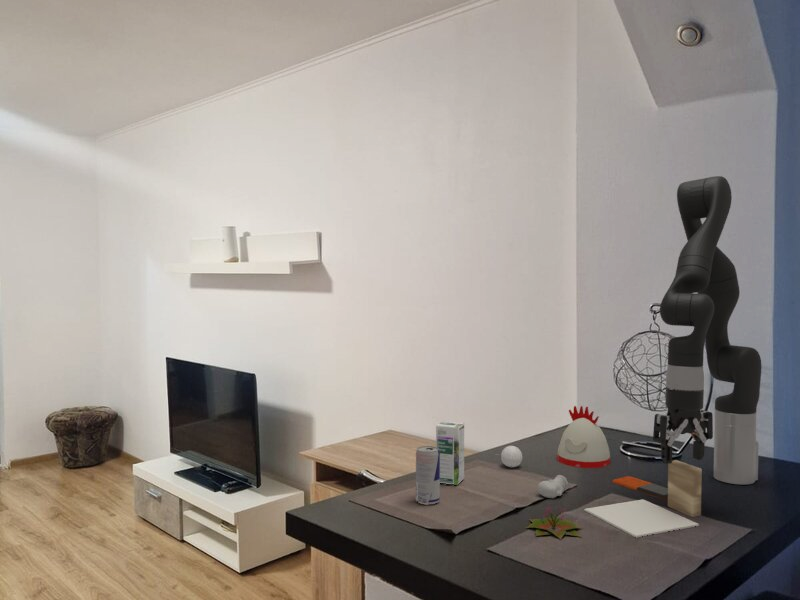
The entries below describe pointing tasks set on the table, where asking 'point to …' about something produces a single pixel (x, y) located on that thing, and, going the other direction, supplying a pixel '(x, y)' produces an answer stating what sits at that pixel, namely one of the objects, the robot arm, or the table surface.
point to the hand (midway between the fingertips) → (682, 460)
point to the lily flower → (554, 525)
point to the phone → (643, 486)
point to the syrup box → (451, 451)
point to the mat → (640, 518)
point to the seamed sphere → (511, 456)
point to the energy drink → (428, 474)
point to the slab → (684, 488)
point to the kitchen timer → (583, 442)
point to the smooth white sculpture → (553, 487)
